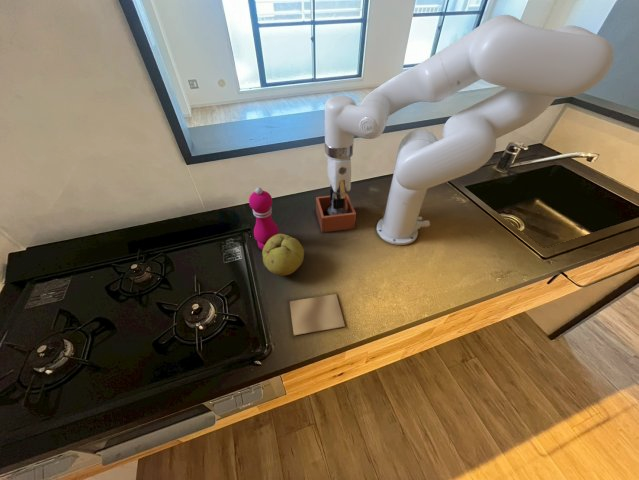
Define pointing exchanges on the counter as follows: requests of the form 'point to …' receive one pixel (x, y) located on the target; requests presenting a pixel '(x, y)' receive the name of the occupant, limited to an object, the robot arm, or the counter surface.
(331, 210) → the grey stone figurine
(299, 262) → the fruit
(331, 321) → the board
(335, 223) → the holder
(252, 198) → the pepper mill
